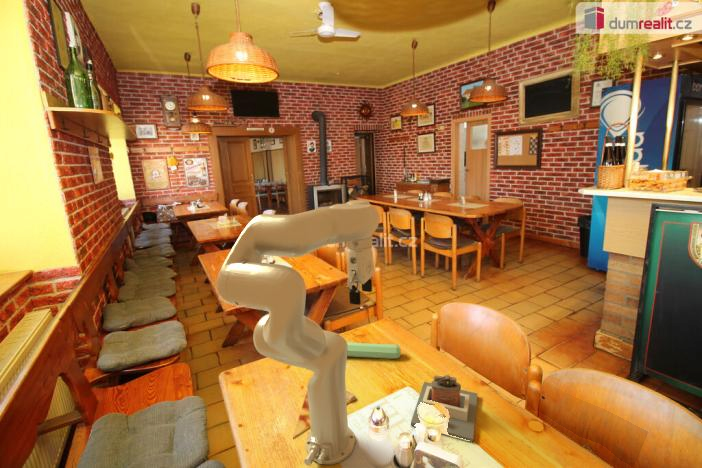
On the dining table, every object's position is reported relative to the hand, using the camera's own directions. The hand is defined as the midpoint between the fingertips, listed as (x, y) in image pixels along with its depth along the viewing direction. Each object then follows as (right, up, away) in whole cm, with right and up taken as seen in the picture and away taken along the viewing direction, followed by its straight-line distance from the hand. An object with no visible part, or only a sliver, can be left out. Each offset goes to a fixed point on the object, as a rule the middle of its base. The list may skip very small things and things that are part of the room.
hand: (361, 297), depth 104 cm
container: (+3, -26, +23) cm, 35 cm away
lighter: (+24, -31, -6) cm, 39 cm away
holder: (+24, -31, -6) cm, 40 cm away
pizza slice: (-15, -33, 0) cm, 36 cm away
